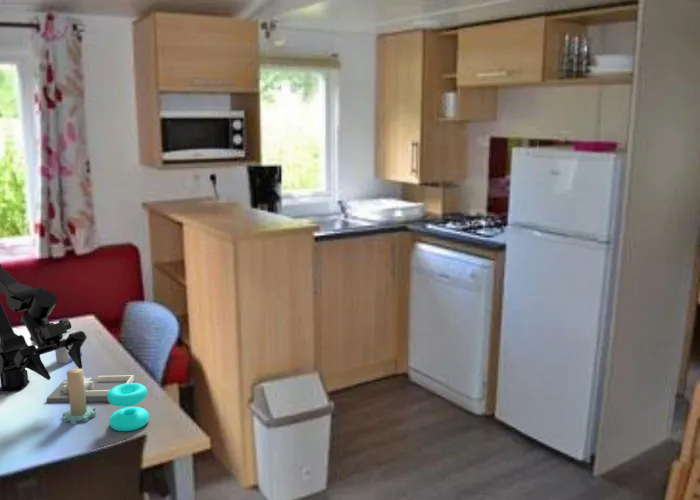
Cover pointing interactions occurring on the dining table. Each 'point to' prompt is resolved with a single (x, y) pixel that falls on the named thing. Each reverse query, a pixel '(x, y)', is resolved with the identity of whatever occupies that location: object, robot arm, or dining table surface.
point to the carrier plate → (91, 388)
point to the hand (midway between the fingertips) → (65, 373)
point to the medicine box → (64, 351)
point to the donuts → (130, 415)
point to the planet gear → (77, 399)
